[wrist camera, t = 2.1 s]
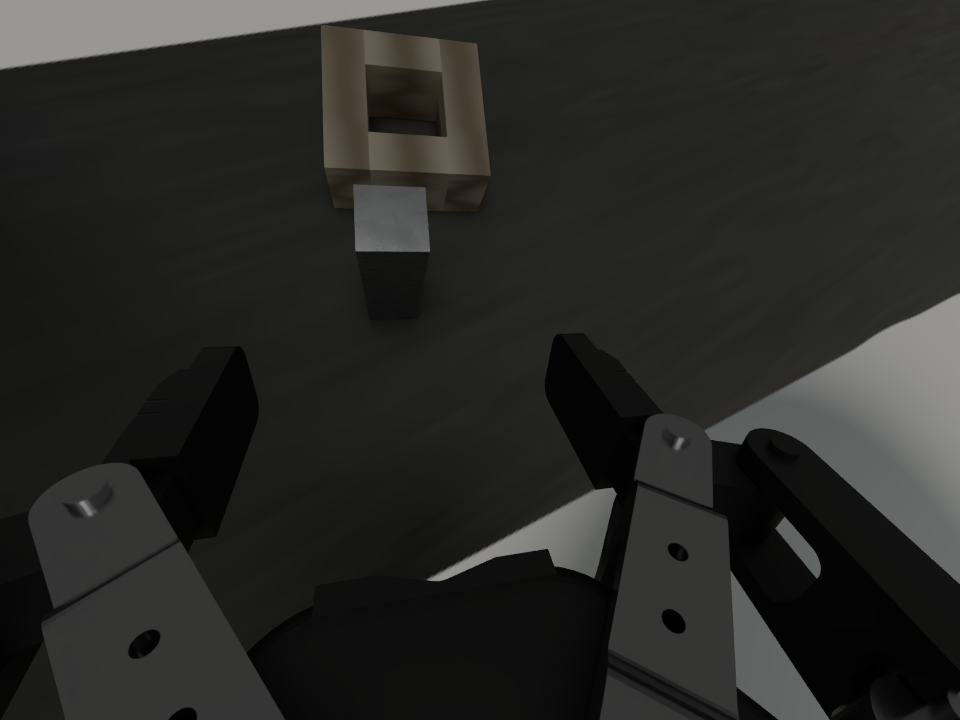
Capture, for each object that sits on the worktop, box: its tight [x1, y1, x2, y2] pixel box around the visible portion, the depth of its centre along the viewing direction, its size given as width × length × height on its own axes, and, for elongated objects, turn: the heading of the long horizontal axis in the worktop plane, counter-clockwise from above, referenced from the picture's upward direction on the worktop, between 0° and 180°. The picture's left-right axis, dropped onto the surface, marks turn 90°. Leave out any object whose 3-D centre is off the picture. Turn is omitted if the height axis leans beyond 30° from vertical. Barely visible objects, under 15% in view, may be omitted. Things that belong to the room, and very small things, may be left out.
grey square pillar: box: [353, 184, 430, 320], centre depth 32 cm, size 4×4×14 cm
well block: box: [321, 25, 491, 212], centre depth 39 cm, size 14×14×6 cm
